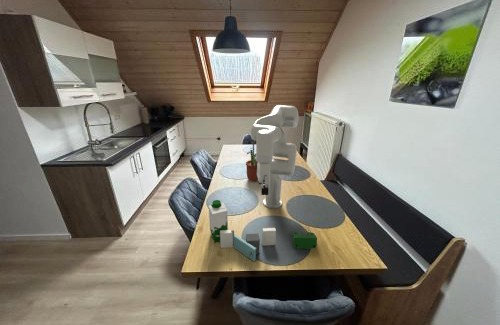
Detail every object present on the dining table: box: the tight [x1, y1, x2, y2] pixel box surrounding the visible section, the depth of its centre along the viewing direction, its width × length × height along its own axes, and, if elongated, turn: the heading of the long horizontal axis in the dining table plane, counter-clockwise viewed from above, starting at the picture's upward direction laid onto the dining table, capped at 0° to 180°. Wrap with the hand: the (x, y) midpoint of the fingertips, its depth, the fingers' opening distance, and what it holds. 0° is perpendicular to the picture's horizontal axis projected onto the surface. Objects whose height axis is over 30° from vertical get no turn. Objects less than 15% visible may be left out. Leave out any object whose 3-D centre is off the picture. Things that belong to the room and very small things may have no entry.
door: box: [233, 234, 257, 262], centre depth 99 cm, size 2×13×7 cm, turn 49°
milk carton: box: [208, 199, 229, 244], centre depth 107 cm, size 9×9×20 cm
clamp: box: [292, 231, 318, 250], centre depth 106 cm, size 12×6×9 cm, turn 84°
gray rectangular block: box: [245, 233, 261, 254], centre depth 101 cm, size 4×6×8 cm
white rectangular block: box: [219, 227, 277, 249], centre depth 104 cm, size 2×27×9 cm, turn 95°
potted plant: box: [245, 139, 259, 183], centre depth 164 cm, size 17×16×35 cm
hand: (263, 189), depth 104 cm, fingers open, 9 cm apart
